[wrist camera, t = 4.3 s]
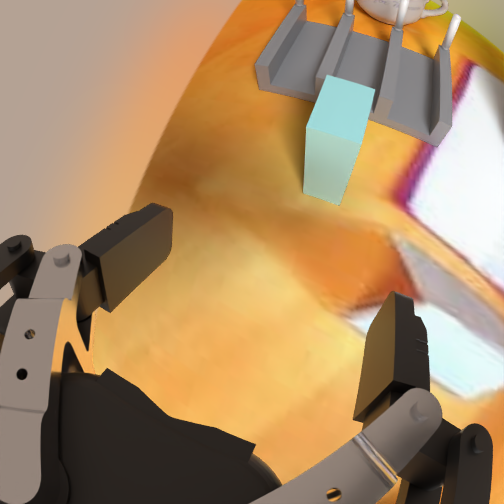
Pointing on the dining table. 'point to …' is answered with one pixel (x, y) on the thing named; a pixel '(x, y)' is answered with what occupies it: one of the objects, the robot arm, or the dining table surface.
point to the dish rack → (363, 70)
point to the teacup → (386, 8)
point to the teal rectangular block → (335, 137)
